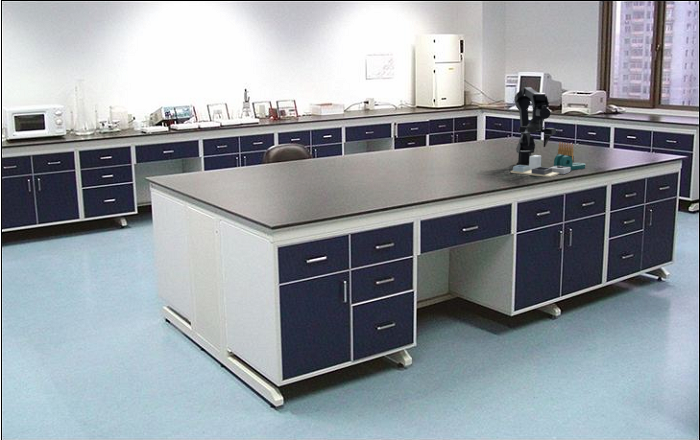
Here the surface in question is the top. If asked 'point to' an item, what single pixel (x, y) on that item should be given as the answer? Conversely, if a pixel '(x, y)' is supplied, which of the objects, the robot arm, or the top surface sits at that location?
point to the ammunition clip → (566, 150)
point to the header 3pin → (521, 168)
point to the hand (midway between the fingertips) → (536, 146)
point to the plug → (534, 161)
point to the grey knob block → (561, 169)
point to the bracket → (567, 162)
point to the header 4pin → (541, 170)
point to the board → (536, 174)
